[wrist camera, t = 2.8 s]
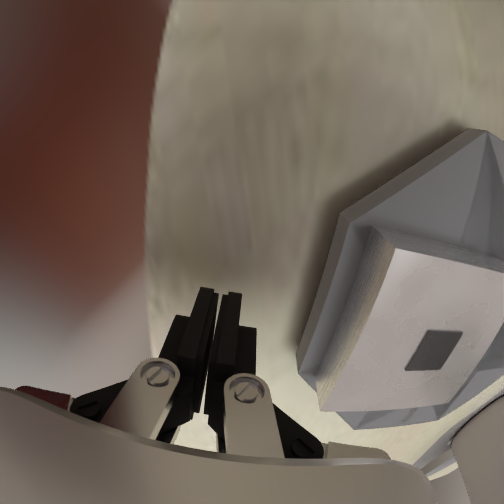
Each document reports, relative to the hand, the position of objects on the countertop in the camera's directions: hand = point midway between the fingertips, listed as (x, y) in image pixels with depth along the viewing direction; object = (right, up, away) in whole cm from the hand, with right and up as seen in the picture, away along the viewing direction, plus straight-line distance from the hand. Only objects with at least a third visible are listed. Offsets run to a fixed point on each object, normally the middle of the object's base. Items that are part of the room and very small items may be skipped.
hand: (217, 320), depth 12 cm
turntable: (+15, -1, +4) cm, 16 cm away
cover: (+10, -1, +2) cm, 10 cm away
